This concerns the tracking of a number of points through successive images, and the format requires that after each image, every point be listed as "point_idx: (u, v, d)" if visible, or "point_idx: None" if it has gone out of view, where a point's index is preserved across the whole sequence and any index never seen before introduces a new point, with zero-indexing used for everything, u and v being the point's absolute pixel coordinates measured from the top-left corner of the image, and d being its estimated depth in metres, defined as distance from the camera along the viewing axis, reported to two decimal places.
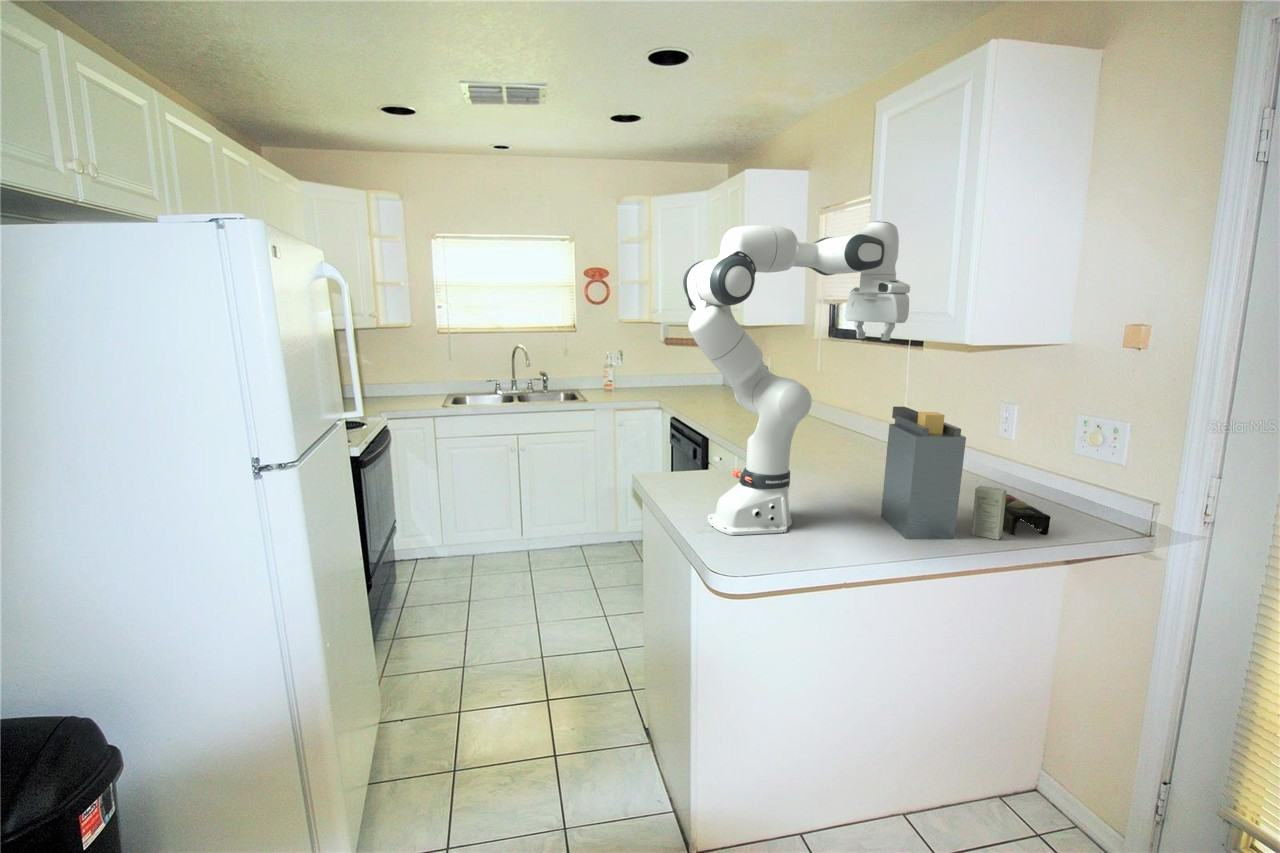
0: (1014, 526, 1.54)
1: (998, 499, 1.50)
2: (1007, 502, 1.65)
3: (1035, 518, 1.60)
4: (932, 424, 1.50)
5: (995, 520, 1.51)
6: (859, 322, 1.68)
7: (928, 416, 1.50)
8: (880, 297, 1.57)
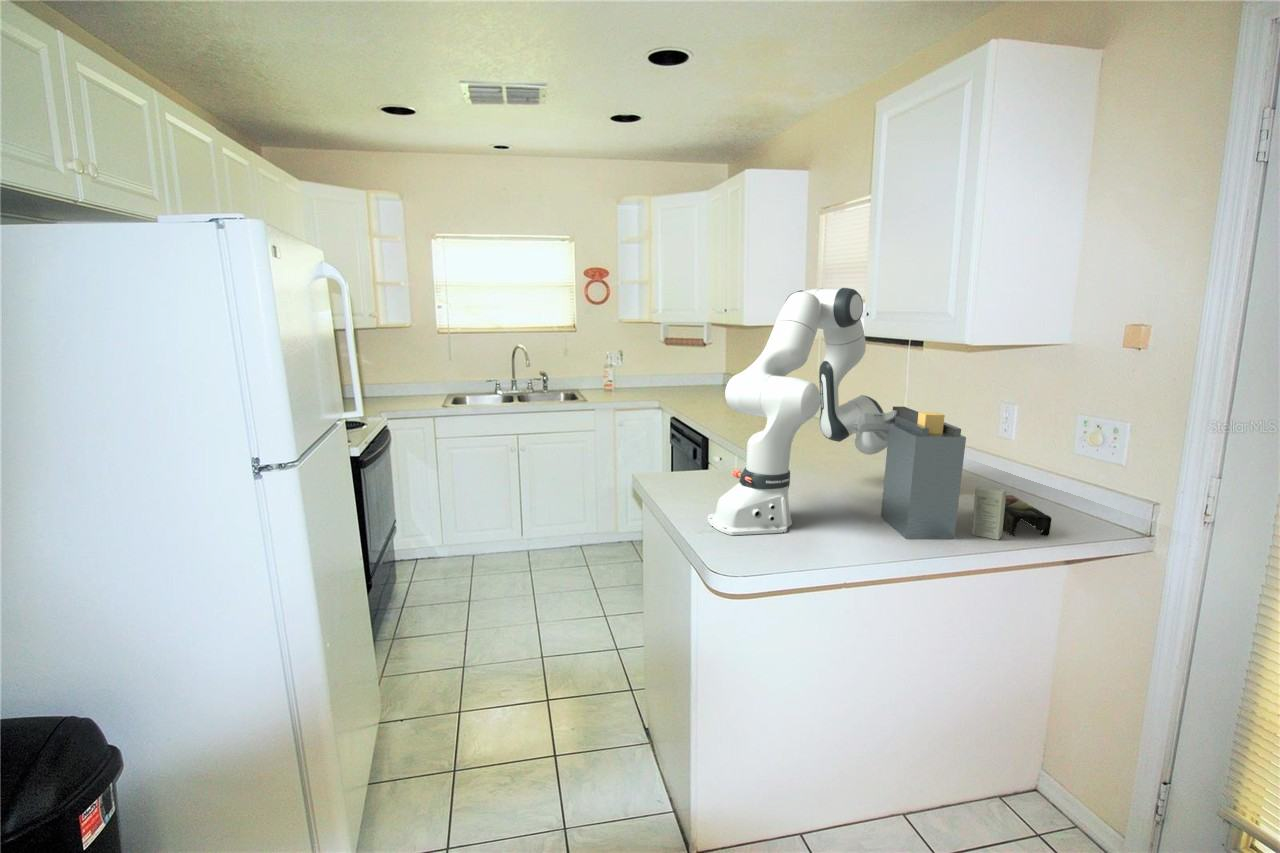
0: (1015, 527, 1.54)
1: (998, 499, 1.50)
2: (1009, 503, 1.65)
3: (1037, 519, 1.59)
4: (932, 424, 1.50)
5: (995, 520, 1.51)
6: None
7: (928, 416, 1.50)
8: None
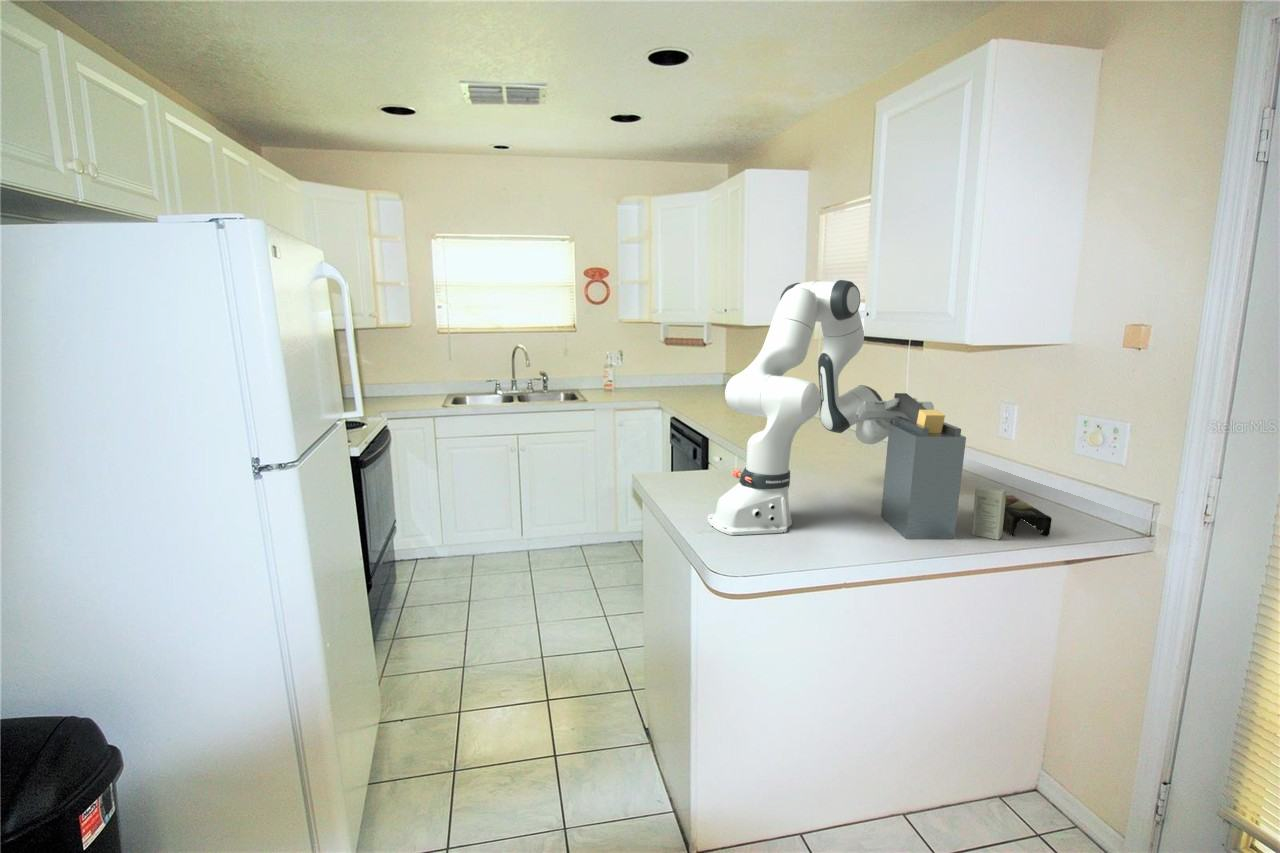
0: (1014, 527, 1.54)
1: (998, 499, 1.50)
2: (1009, 503, 1.65)
3: (1037, 519, 1.59)
4: (931, 424, 1.50)
5: (995, 520, 1.51)
6: None
7: (928, 416, 1.49)
8: None
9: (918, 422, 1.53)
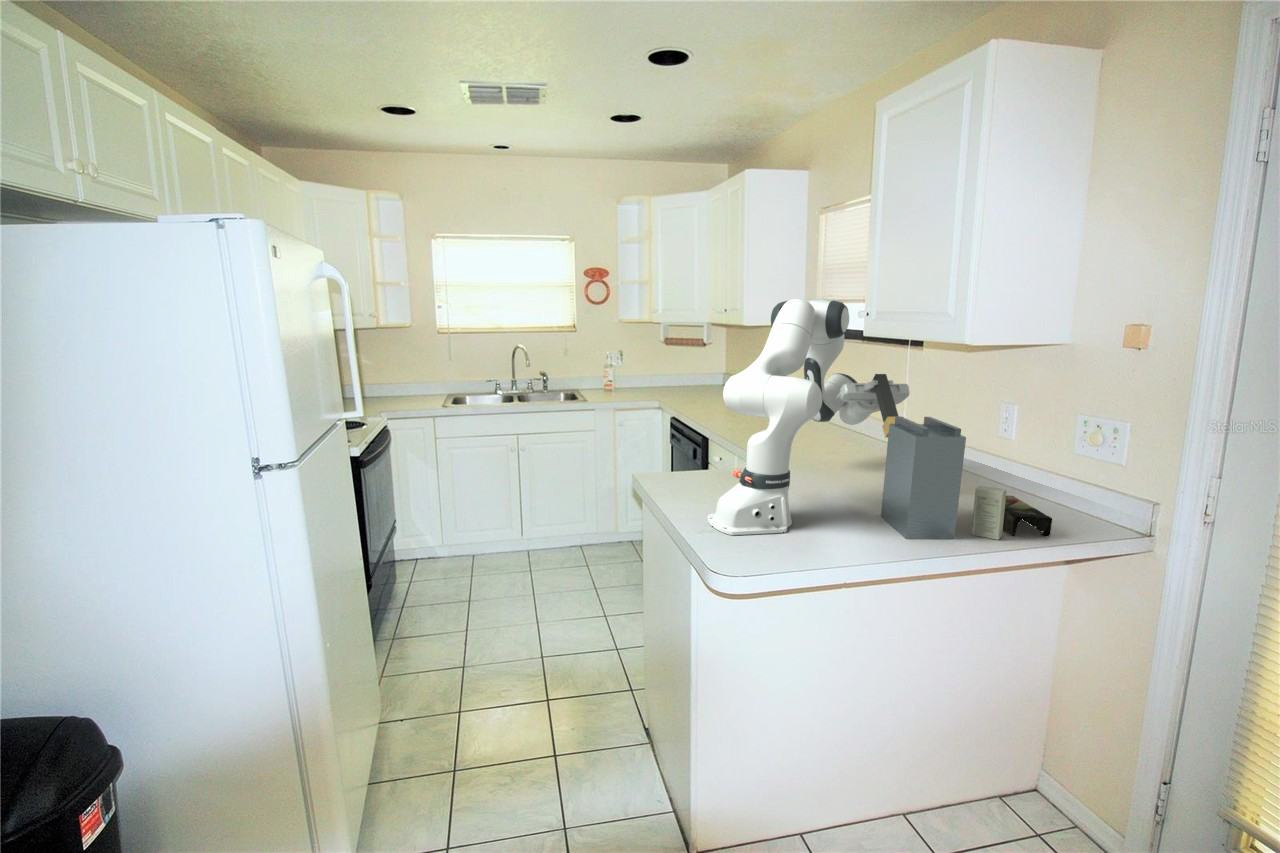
0: (1015, 527, 1.53)
1: (998, 499, 1.50)
2: (1010, 503, 1.64)
3: (1038, 520, 1.59)
4: None
5: (995, 520, 1.51)
6: None
7: None
8: None
9: (884, 425, 1.75)
